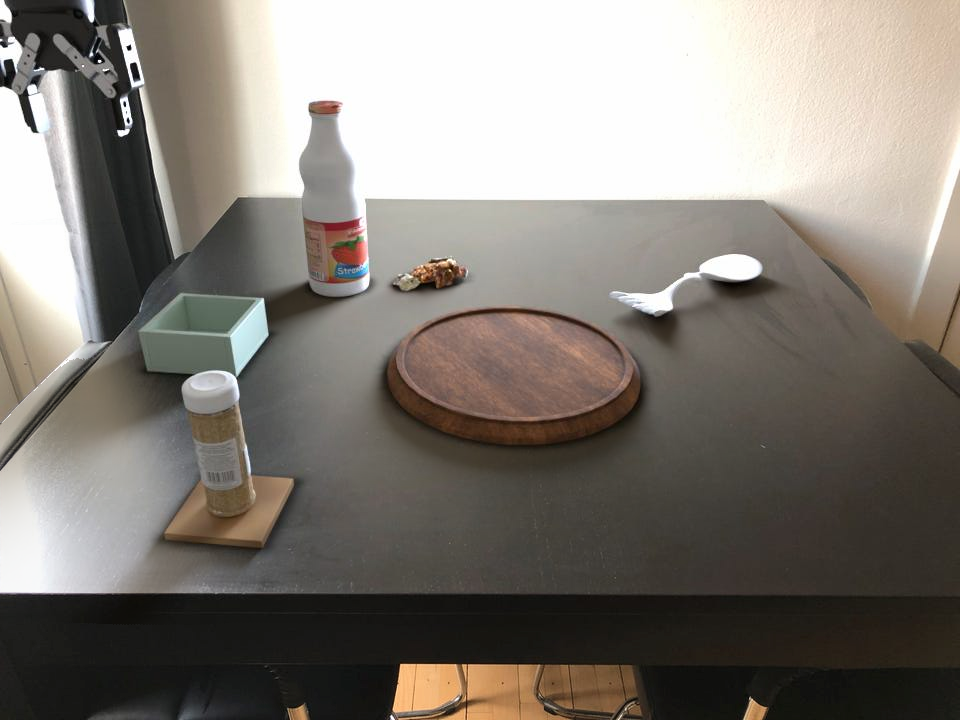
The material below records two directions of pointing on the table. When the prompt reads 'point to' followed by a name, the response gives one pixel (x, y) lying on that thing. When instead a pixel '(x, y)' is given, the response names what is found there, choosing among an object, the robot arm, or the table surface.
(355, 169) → the fruit juice
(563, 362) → the cutting board
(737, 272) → the spoon
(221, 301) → the tub
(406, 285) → the pastry
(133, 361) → the table surface
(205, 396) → the sprinkles bottle
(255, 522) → the plate
